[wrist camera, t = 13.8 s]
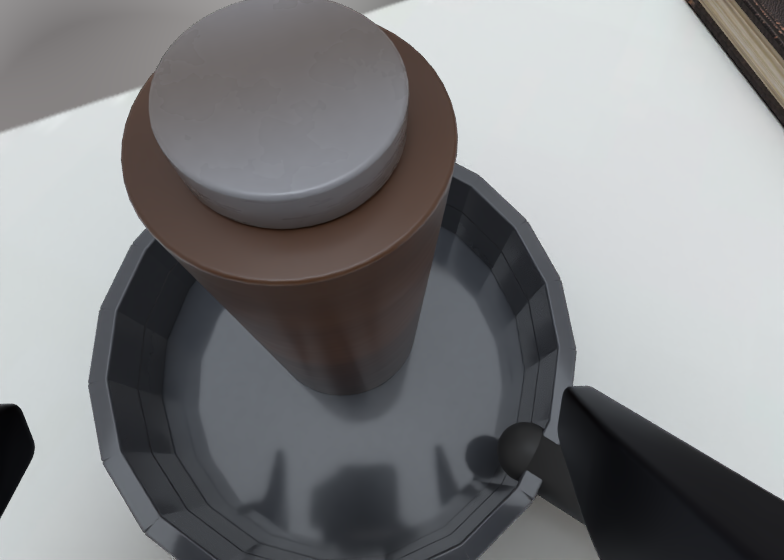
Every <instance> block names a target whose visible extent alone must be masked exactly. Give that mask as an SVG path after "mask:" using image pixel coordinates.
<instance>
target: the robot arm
mask: <svg viewBox="0 0 784 560" xmlns="http://www.w3.org/2000/svg"><path fill="white" fill-rule="evenodd" d="M558 438H559V442H560V445H561V449H562V452H563V455H564V458H565V461H566V465H567V468H568V471H569V474H570V477H571V481H572V484H573V487H574V490H575V493H576V497H577V500H578V503H579V506H580V509H581V513H582V516H583V518H584V521H585V524H586V527H587V530H588V532H589V535H590V537H591V540H592V542H593V544H594V547H595V549H596V551H597V554H598V556H599V558H600V560H784V501H783V500H782V499H780V498H778V497H777V496H775V495H773V494H772V493H770V492H768V491H767V490H765V489H763V488H762V487H760V486H758V485H756V484H755V483H753V482H751V481H750V480H748V479H746V478H745V477H743V476H741V475H740V474H738V473H736V472H735V471H733V470H731V469H729V468H728V467H726V466H724V465H723V464H721V463H719V462H718V461H716V460H714V459H713V458H711V457H709V456H708V455H706V454H704V453H702V452H701V451H699V450H697V449H696V448H694V447H692V446H691V445H689V444H687V443H686V442H684V441H682V440H680V439H679V438H677V437H675V436H674V435H672V434H670V433H669V432H667V431H665V430H664V429H662V428H660V427H659V426H657V425H655V424H653V423H652V422H650V421H648V420H647V419H645V418H643V417H642V416H640V415H638V414H637V413H635V412H633V411H632V410H630V409H628V408H626V407H625V406H623V405H621V404H620V403H618V402H616V401H615V400H613V399H611V398H610V397H608V396H606V395H605V394H603V393H601V392H599V391H598V390H596V389H594V388H593V387H590V386H570V387H567V388H566V389H564V392H563V394H562V400H561V407H560V413H559V420H558ZM34 450H35V444H34V440H33V438H32V435H31V432H30V430H29V427H28V425H27V422H26V420H25V417H24V415H23V412H22V410H21V409H20V408H19V407H18V406H17V405H15V404H0V518H1V516H2V514H3V513H4V511H5V509H6V507H7V505H8V503H9V501H10V499H11V498H12V496H13V494H14V492H15V490H16V488H17V486H18V484H19V483H20V481H21V479H22V477H23V475H24V473H25V471H26V469H27V468H28V466H29V464H30V462H31V460H32V458H33V455H34Z"/></svg>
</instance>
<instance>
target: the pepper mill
mask: <svg viewBox="0 0 784 560" xmlns="http://www.w3.org/2000/svg"><path fill="white" fill-rule="evenodd" d="M457 144H458V133H457V124H456V117H455V114H454V110H453V106H452V103H451V100H450V98H449V96H448V93H447V91H446V89H445V87H444V84H443V83H442V81H441V80H440V78H439V76H438V75H437V73H436V72H435V70H434V69H433V68H432V66H431V65H430V64H429V63H428V62H427V61H426V59H425V58H424V57H423V56H422V55H421V54H420V53H419V52H418V51H416V50H415V49H414V48H413V47H412V46H411V45H410V44H408V43H407V42H406V41H404V40H403V39H401V38H400V37H398V36H397V35H395V34H394V33H392V32H390V31H388V30H386V29H384V28H383V27H381V26H379V25H376V24H375V23H374V22H372V21H371V20H369V19H368V18H367V17H365V16H364V15H362V14H360V13H359V12H357V11H355V10H353V9H351V8H349V7H346V6H344V5H341V4H339V3H336V2H333V1H329V0H244V1H241V2H238V3H234V4H231V5H229V6H226V7H224V8H222V9H219V10H217V11H215V12H213V13H211V14H209V15H207V16H206V17H204V18H202V19H201V20H199V21H198V22H196V23H195V24H193V25H192V26H191V27H189V28H188V29H187V30H186V31H185V32H184V33H183V34H181V35H180V36H179V37H178V38H177V40H175V42H174V43H173V44H172V45H171V46H170V47H169V49H168V50H167V51H166V53H165V54H164V56H163V57H162V59H161V61H160V63H159V65H158V66H157V68H156V71H155V72H154V73H153V74H152V75H151V76H150V78H149V79H148V80H147V82H146V83H145V85H144V86H143V87H142V89H141V90H140V92H139V94H138V96H137V98H136V100H135V101H134V103H133V105H132V107H131V110H130V113H129V115H128V118H127V121H126V124H125V129H124V134H123V139H122V152H121V163H122V171H123V178H124V183H125V187H126V190H127V193H128V196H129V200H130V202H131V204H132V206H133V208H134V210H135V212H136V214H137V216H138V217H139V219H140V220H141V222H142V223H143V224H144V226H145V227H146V228H147V230H148V231H149V232H150V234H151V235H152V236H153V237H154V238H155V239H156V240H157V241H158V242H159V243H160V244H161V245H162V246H163V247H164V248H165V249H166V250H167V251H168V252H169V253H170V254H171V255H172V256H173V257H174V258H175V259H176V260H177V261H178V262H179V263H180V264H181V265H182V266H183V267H184V268H185V269H186V270H187V271H188V272H189V273H190V274H191V275H192V276H193V277H194V278H195V279H196V280H197V281H198V282H199V283H200V284H201V285H202V286H203V287H204V288H205V289H206V290H207V291H208V292H209V293H210V294H211V295H212V296H213V297H214V298H215V299H216V300H217V301H218V302H219V303H220V304H221V305H222V306H223V307H224V308H225V309H226V310H227V311H228V312H229V313H230V314H231V315H232V316H233V317H234V318H235V319H236V320H237V321H238V322H239V323H240V324H241V325H242V326H243V327H244V328H245V329H246V330H247V331H248V332H249V333H250V334H251V335H252V336H253V337H254V338H255V339H256V340H257V341H258V342H259V343H260V344H261V345H262V346H263V347H264V348H265V349H266V350H267V351H268V352H269V353H270V354H271V355H272V356H273V357H274V358H275V359H276V360H277V361H278V362H279V363H280V364H281V365H282V366H283V367H284V368H285V369H286V370H287V371H288V372H289V373H290V374H291V375H292V376H293V377H294V378H295V379H297V380H298V381H299V382H301V383H302V384H304V385H305V386H307V387H309V388H311V389H313V390H316V391H319V392H322V393H326V394H331V395H352V394H358V393H362V392H365V391H368V390H371V389H373V388H375V387H377V386H379V385H381V384H382V383H384V382H385V381H387V380H388V379H389V378H391V377H392V376H393V375H394V374H395V373H396V372H397V371H398V370H399V369H400V368H401V366H402V365H403V363H404V362H405V360H406V359H407V357H408V355H409V353H410V351H411V348H412V346H413V343H414V339H415V335H416V330H417V326H418V322H419V317H420V313H421V309H422V304H423V300H424V296H425V292H426V287H427V283H428V279H429V274H430V270H431V266H432V261H433V257H434V253H435V249H436V244H437V240H438V236H439V231H440V227H441V223H442V219H443V214H444V210H445V206H446V201H447V197H448V193H449V188H450V184H451V180H452V176H453V171H454V166H455V162H456V157H457Z"/></svg>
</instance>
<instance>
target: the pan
mask: <svg viewBox="0 0 784 560" xmlns="http://www.w3.org/2000/svg"><path fill="white" fill-rule="evenodd" d="M526 221H527V220H526V219H525V218H524V217H523V216H522V215H521V214H520V213H519V212H518V211H517V210H516V209H515V208H514V207H512V206H511V205H510V204H509V203H508V202H507V201H506V200H505V199H504V198H503V197H502V196H501V195H500V194H499V193H498V192H497V191H496V190H494V189H493V188H492V187H491V186H490V185H489V184H488V183H487V182H486V181H485V180H484V179H483V178H482V177H480V176H479V175H478V174H476V173H474V172H472V171H470V170H468V169H466V168H464V167H462V166H460V165H459V164H457V163H455V166H454V171H453V176H452V180H451V184H450V188H449V193H448V197H447V201H446V206H445V210H444V214H443V219H442V223H441V227H440V231H439V236H438V240H437V244H436V249H435V253H434V257H433V261H432V266H431V270H430V274H429V279H428V283H427V287H426V292H425V296H424V300H423V304H422V309H421V313H420V317H419V322H418V326H417V330H416V335H415V339H414V343H413V346H412V348H411V351H410V353H409V355H408V357H407V359H406V360H405V362H404V363H403V365H402V366H401V368H400V369H399V370H398V371H397V372H396V373H395V374H394V375H393V376H392V377H391V378H389V379H388V380H387V381H385V382H384V383H382V384H381V385H379V386H377V387H375V388H373V389H371V390H368V391H365V392H362V393H358V394H352V395H331V394H326V393H322V392H319V391H316V390H313V389H311V388H309V387H307V386H305V385H304V384H302V383H301V382H299V381H298V380H297V379H295V378H294V377H293V376H292V375H291V374H290V373H289V372H288V371H287V370H286V369H285V368H284V367H283V366H282V365H281V364H280V363H279V362H278V361H277V360H276V359H275V358H274V357H273V356H272V355H271V354H270V353H269V352H268V351H267V350H266V349H265V348H264V347H263V346H262V345H261V344H260V343H259V342H258V341H257V340H256V339H255V338H254V337H253V336H252V335H251V334H250V333H249V332H248V331H247V330H246V329H245V328H244V327H243V326H242V325H241V324H240V323H239V322H238V321H237V320H236V319H235V318H234V317H233V316H232V315H231V314H230V313H229V312H228V311H227V310H226V309H225V308H224V307H223V306H222V305H221V304H220V303H219V302H218V301H217V300H216V299H215V298H214V297H213V296H212V295H211V294H210V293H209V292H208V291H207V290H206V289H205V288H204V287H203V286H202V285H201V284H200V283H199V282H198V281H197V280H196V279H195V278H194V277H193V276H192V275H191V274H190V273H189V272H188V271H187V270H186V269H185V268H184V267H183V266H182V265H181V264H180V263H179V262H178V261H177V260H176V259H175V258H174V257H173V256H172V255H171V254H170V253H169V252H168V251H167V250H166V249H165V248H164V247H163V246H162V245H161V244H160V243H159V242H158V241H157V240H156V239H155V238H154V237H153V236H152V235H151V234H150V232H149V231H148V230H147V228H146V229H145V230H144V231H143V232H142V233H141V234H140V235H139V236H138V238H137V239H136V240H135V241H134V242H133V245H131V246H130V248H129V250H128V252H127V254H126V256H125V259H124V261H123V263H122V265H121V267H120V269H119V271H118V273H117V275H116V277H115V279H114V281H113V283H112V285H111V287H110V289H109V291H108V293H107V295H106V297H105V299H104V301H103V303H102V305H101V308H100V309H101V310H100V311H99V316H98V322H97V329H96V335H95V342H94V348H93V355H92V361H91V368H90V374H89V380H88V383H89V385H88V387H89V393H90V399H91V404H92V410H93V415H94V421H95V426H96V432H97V438H98V443H99V449H100V454H101V460H102V461H103V465H104V467H105V468H106V470H107V472H108V473H109V475H110V477H111V479H112V480H113V482H114V484H115V485H116V487H117V489H118V490H119V492H120V494H121V495H122V497H123V499H124V501H125V502H126V504H127V506H128V507H129V509H130V511H131V512H132V514H133V516H134V517H135V519H136V521H137V523H138V524H139V526H140V528H141V529H142V531H143V532H144V533H145V535H146V536H148V537H149V538H150V539H151V540H153V541H154V542H155V543H157V544H158V545H159V546H160V547H162V548H163V549H164V550H166V551H167V552H168V553H169V554H171V555H172V556H173V557H174V558H176V559H177V560H477V559H478V558H479V557H480V556H481V555H482V554H483V553H484V552H485V551H486V550H487V549H488V548H489V547H490V546H491V545H492V544H493V543H494V542H495V541H496V540H497V539H498V538H499V537H500V536H501V535H502V534H503V533H504V531H505V530H506V529H507V528H508V527H509V526H510V525H511V524H512V523H513V522H514V521H515V520H516V519H517V518H518V517H519V516H520V515H521V514H522V513H523V512H524V511H525V510H526V509H527V508H528V507H529V506H530V505H531V504H532V500H534V499H535V497H536V495H537V493H538V491H539V489H540V487H541V484H542V482H543V481H542V480H541V479H540V478H538V477H537V476H535V475H533V474H532V473H530V472H529V471H524V472H523V473H522V474H521V475H520V476H519V477H518V478H516V479H512V478H511V477H510V476H509V475H507V473H506V472H505V471H504V470H503V468H502V467H501V465H500V462H499V460H498V455H497V445H498V441H499V438H500V436H501V434H502V433H503V432H504V431H505V430H506V429H507V428H508V427H509V426H511V425H513V424H516V423H519V422H531V423H534V424H537V425H539V426H541V427H542V434H543V435H544V436H545V437H547V438H548V439H550V440H551V441H553V442H555V443H556V444H558V445H560V442H559V438H558V420H559V413H560V407H561V400H562V394H563V392H564V389H566V388H567V387H570V386H573V380H574V371H575V361H576V346H575V341H574V337H573V332H572V327H571V323H570V318H569V314H568V309H567V304H566V300H565V295H564V290H563V286H562V281H561V280H560V277H559V275H558V273H557V271H556V270H555V268H554V266H553V264H552V263H551V261H550V259H549V257H548V256H547V254H546V252H545V250H544V249H543V247H542V245H541V243H540V242H539V240H538V238H537V236H536V235H535V233H534V231H533V229H532V228H531V226H530V224H529V222H526Z"/></svg>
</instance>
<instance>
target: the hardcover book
mask: <svg viewBox="0 0 784 560" xmlns="http://www.w3.org/2000/svg"><path fill="white" fill-rule="evenodd" d="M687 1H688V3H689V4H690V5H691V6H692V8H693V9H694V10H695V12H696V13H697V14H698V16H699V17H700V18H701V19H702V21H703V22H704V23H705V25H706V26H707V27H708V28H709V30H710V31H711V32H712V34H713V35H714V36H715V37H716V39H717V40H718V41H719V43H720V44H721V45H722V47H723V48H724V49H725V50H726V52H727V53H728V54H729V56H730V57H731V58H732V59H733V61H734V62H735V63H736V65H737V66H738V67H739V68H740V70H741V71H742V72H743V74H744V75H745V76H746V77H747V79H748V80H749V81H750V83H751V84H752V85H753V87H754V88H755V89H756V90H757V92H758V93H759V94H760V96H761V97H762V98H763V99H764V101H765V102H766V103H767V105H768V106H769V107H770V108H771V110H772V111H773V112H774V114H775V115H776V116H777V118H778V119H779V120H780V121H781V123H782V124H783V125H784V0H687Z"/></svg>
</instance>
